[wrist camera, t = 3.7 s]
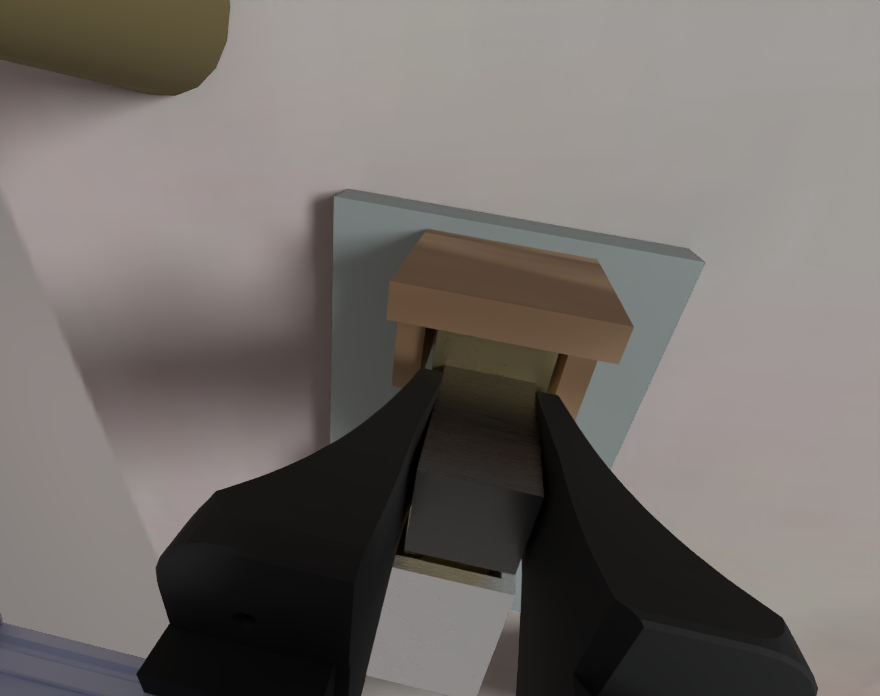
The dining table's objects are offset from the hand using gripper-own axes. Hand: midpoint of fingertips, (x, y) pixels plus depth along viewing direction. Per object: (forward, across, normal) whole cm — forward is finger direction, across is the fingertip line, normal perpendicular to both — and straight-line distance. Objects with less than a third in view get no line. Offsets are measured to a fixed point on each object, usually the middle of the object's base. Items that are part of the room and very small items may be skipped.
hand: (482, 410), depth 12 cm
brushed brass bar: (+4, 0, +4) cm, 6 cm away
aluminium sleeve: (+4, 0, +11) cm, 12 cm away
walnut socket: (+4, 0, -2) cm, 5 cm away
